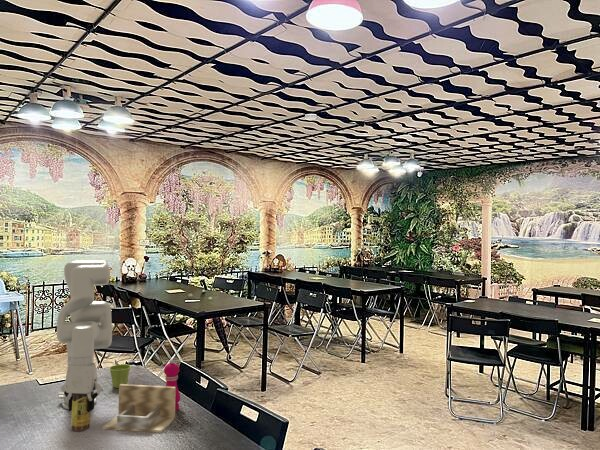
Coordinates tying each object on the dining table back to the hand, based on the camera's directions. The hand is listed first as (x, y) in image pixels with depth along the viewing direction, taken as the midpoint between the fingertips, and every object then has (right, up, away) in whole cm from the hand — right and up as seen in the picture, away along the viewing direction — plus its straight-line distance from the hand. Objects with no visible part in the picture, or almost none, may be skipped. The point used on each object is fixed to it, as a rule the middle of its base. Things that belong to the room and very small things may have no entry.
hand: (81, 409), depth 168 cm
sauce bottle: (0, -7, 0) cm, 7 cm away
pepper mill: (+27, -8, +19) cm, 34 cm away
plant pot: (-4, -8, +47) cm, 47 cm away
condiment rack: (+20, -7, +5) cm, 21 cm away
